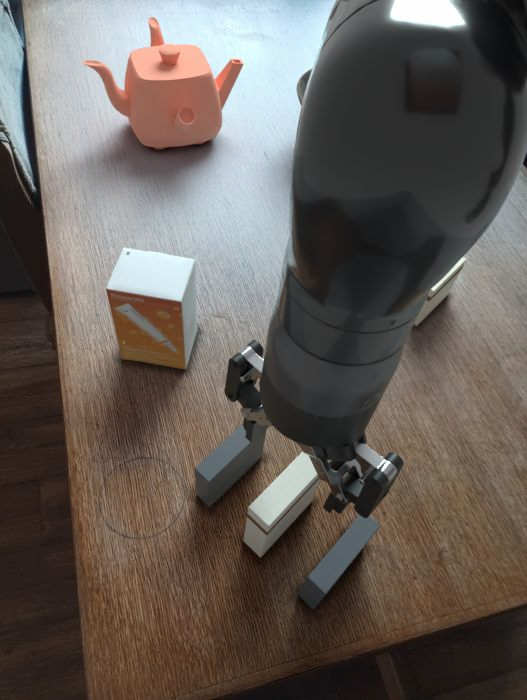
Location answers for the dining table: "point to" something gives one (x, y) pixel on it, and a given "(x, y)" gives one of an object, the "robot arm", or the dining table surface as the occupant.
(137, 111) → the teapot
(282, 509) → the white box
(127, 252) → the small box
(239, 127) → the dining table surface
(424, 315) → the cream books
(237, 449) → the grey parallel blocks
